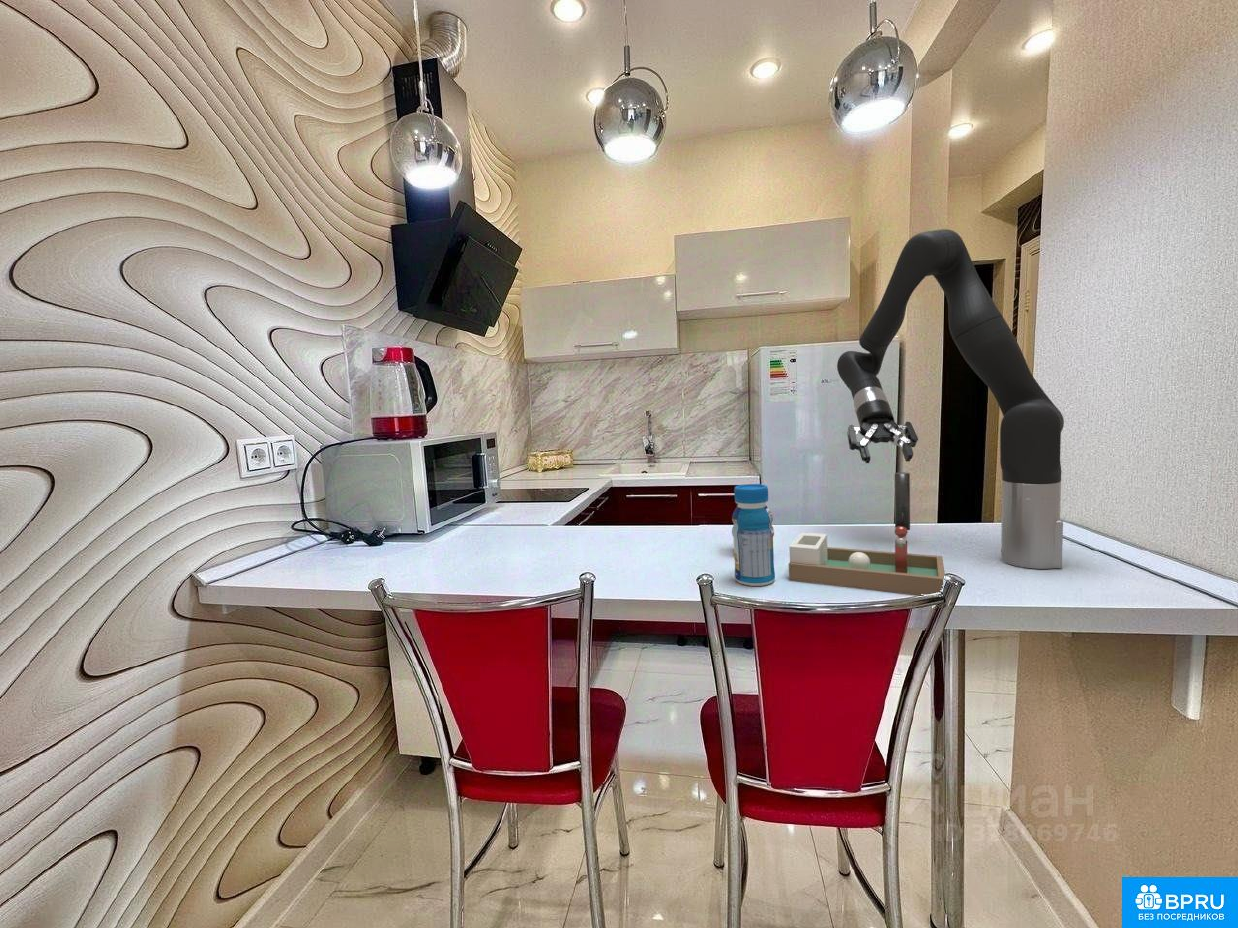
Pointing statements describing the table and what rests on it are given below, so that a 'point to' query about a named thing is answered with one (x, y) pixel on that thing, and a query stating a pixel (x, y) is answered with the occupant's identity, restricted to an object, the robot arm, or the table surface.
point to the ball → (859, 561)
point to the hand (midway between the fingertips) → (888, 460)
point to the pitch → (833, 569)
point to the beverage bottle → (753, 536)
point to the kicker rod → (901, 519)
